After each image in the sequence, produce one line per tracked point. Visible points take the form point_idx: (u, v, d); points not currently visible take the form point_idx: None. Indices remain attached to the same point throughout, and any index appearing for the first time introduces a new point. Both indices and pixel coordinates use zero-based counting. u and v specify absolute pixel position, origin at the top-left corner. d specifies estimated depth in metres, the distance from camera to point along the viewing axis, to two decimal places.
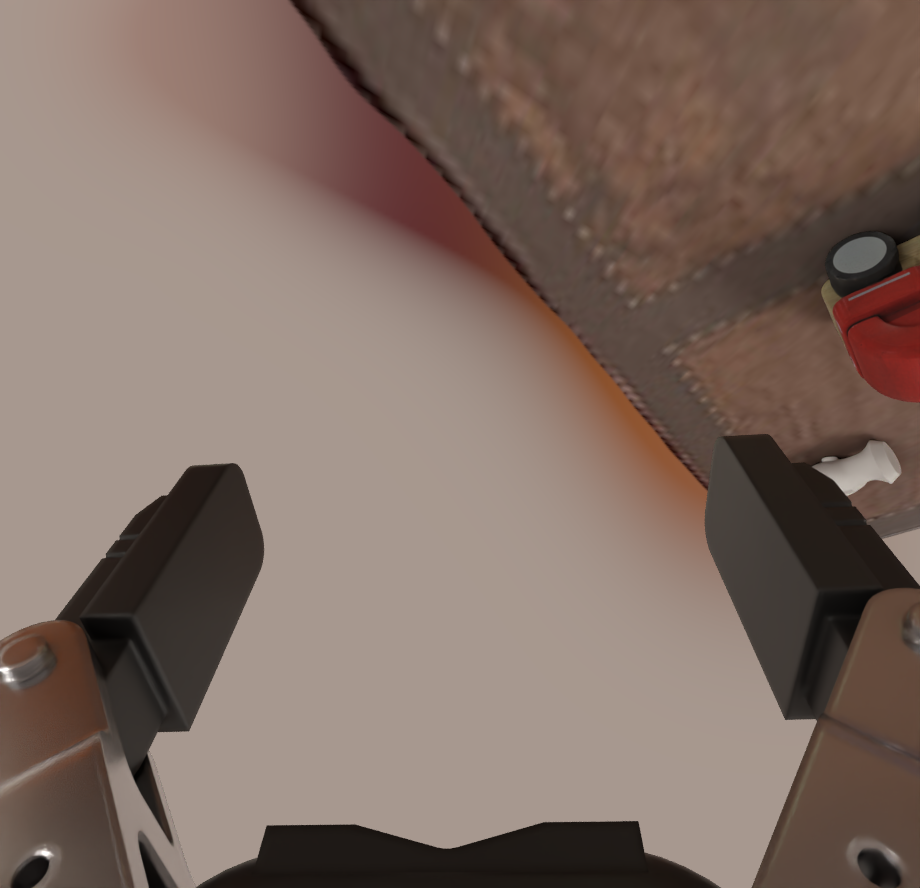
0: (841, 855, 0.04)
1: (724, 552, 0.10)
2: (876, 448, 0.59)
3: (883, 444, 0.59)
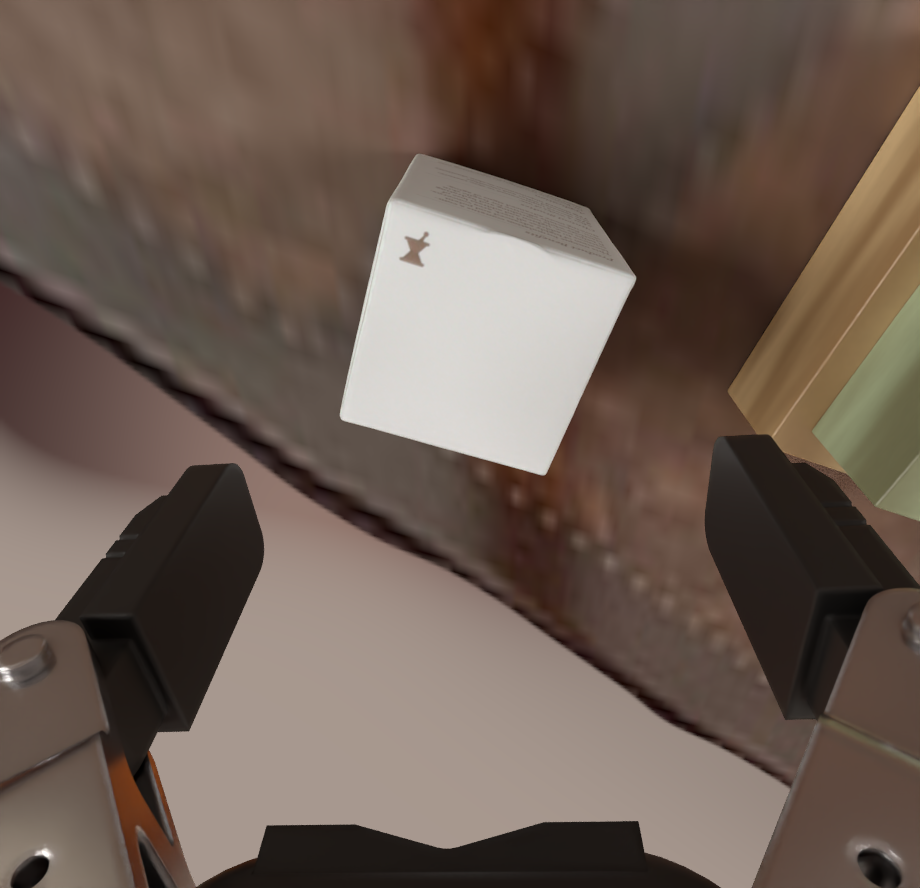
0: (841, 855, 0.04)
1: (724, 552, 0.10)
2: None
3: None
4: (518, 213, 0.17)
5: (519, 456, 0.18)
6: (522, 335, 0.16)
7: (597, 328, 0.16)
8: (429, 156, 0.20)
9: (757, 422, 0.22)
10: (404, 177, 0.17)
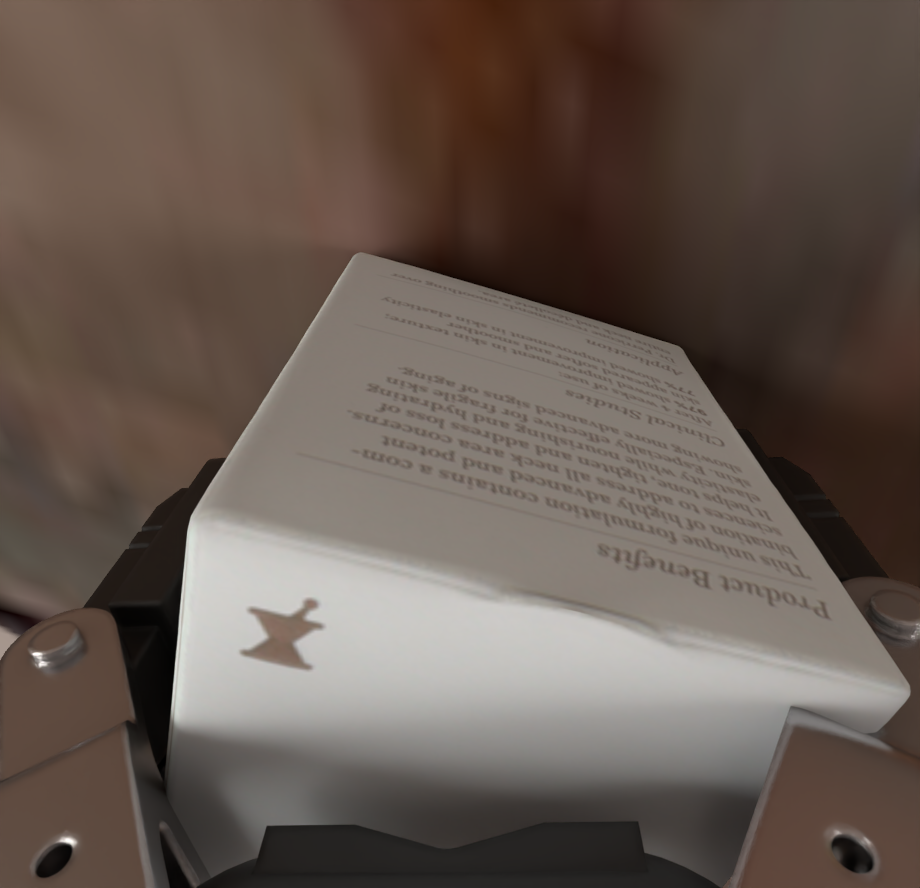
0: (816, 843, 0.04)
1: None
2: None
3: None
4: (566, 441, 0.07)
5: None
6: (585, 797, 0.06)
7: None
8: (379, 258, 0.10)
9: None
10: (293, 358, 0.07)
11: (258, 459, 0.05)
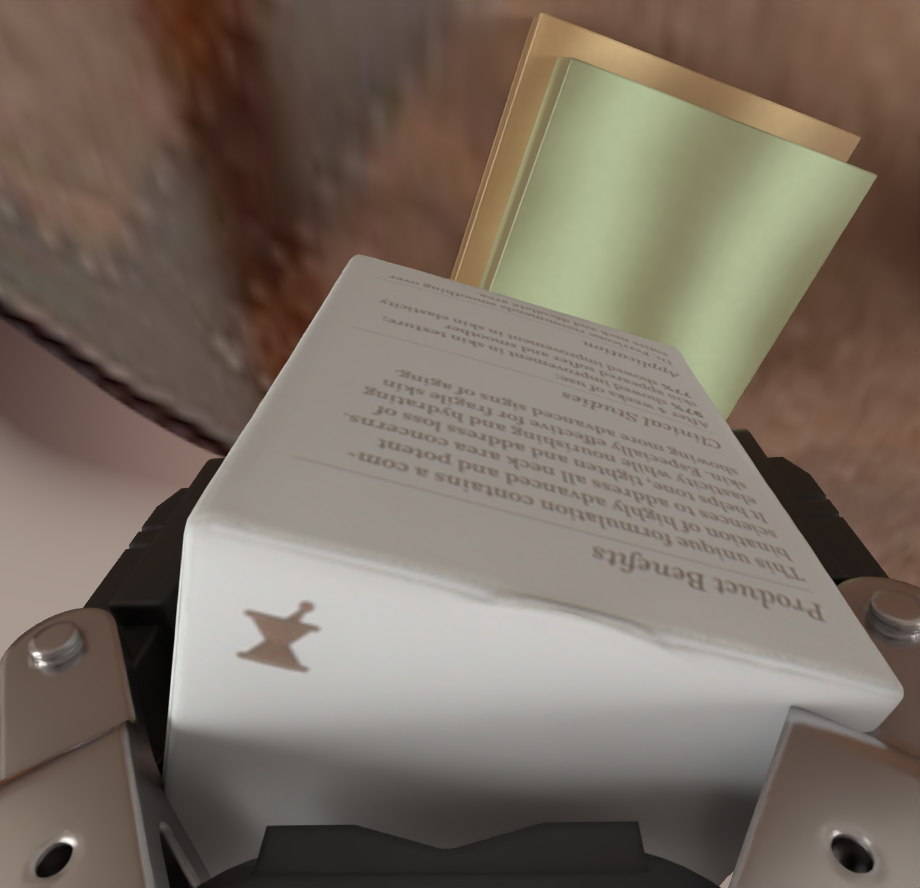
0: (815, 843, 0.04)
1: None
2: None
3: None
4: (562, 444, 0.07)
5: None
6: (582, 798, 0.06)
7: None
8: (377, 260, 0.10)
9: None
10: (290, 361, 0.07)
11: (255, 462, 0.05)
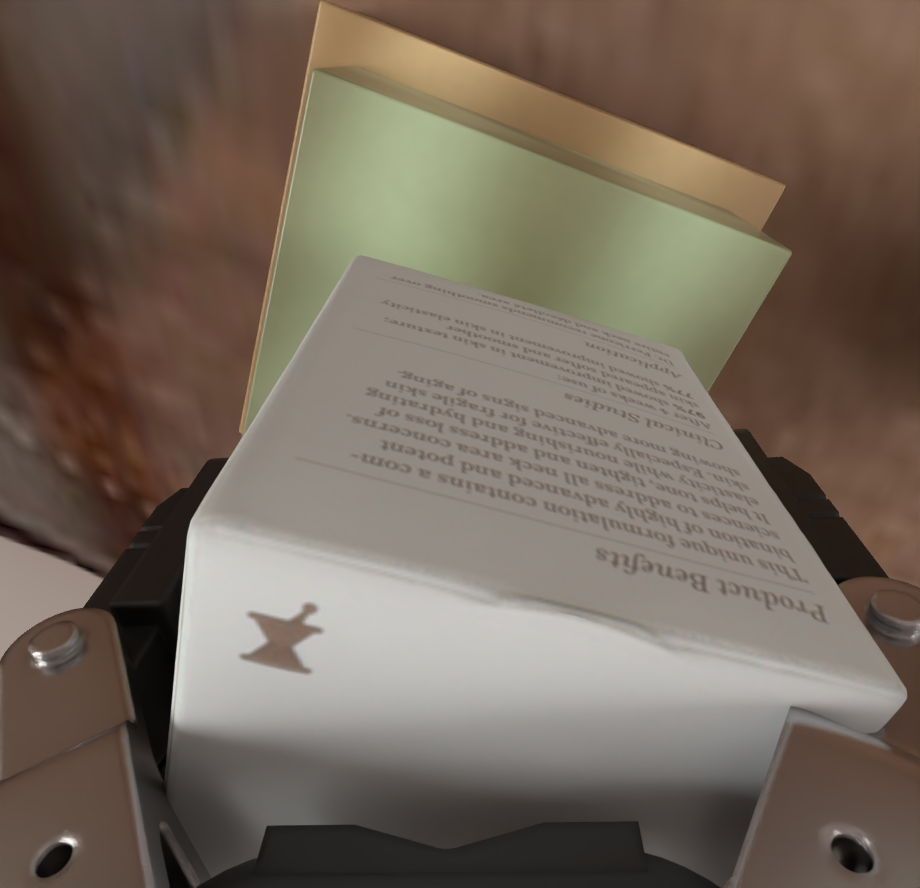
0: (816, 843, 0.04)
1: None
2: None
3: None
4: (565, 445, 0.07)
5: None
6: (585, 801, 0.06)
7: None
8: (379, 261, 0.10)
9: None
10: (293, 362, 0.07)
11: (258, 464, 0.05)
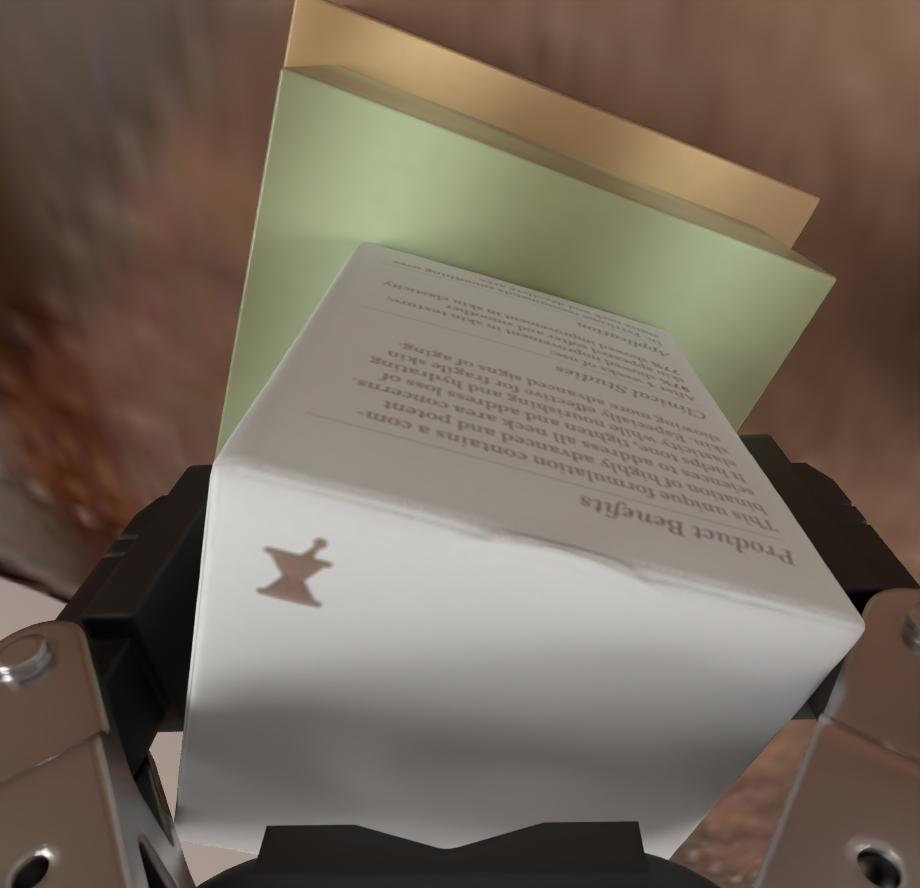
0: (841, 855, 0.04)
1: None
2: None
3: None
4: (555, 410, 0.08)
5: None
6: (571, 732, 0.07)
7: (754, 721, 0.06)
8: (381, 247, 0.11)
9: None
10: (301, 333, 0.07)
11: (272, 416, 0.06)
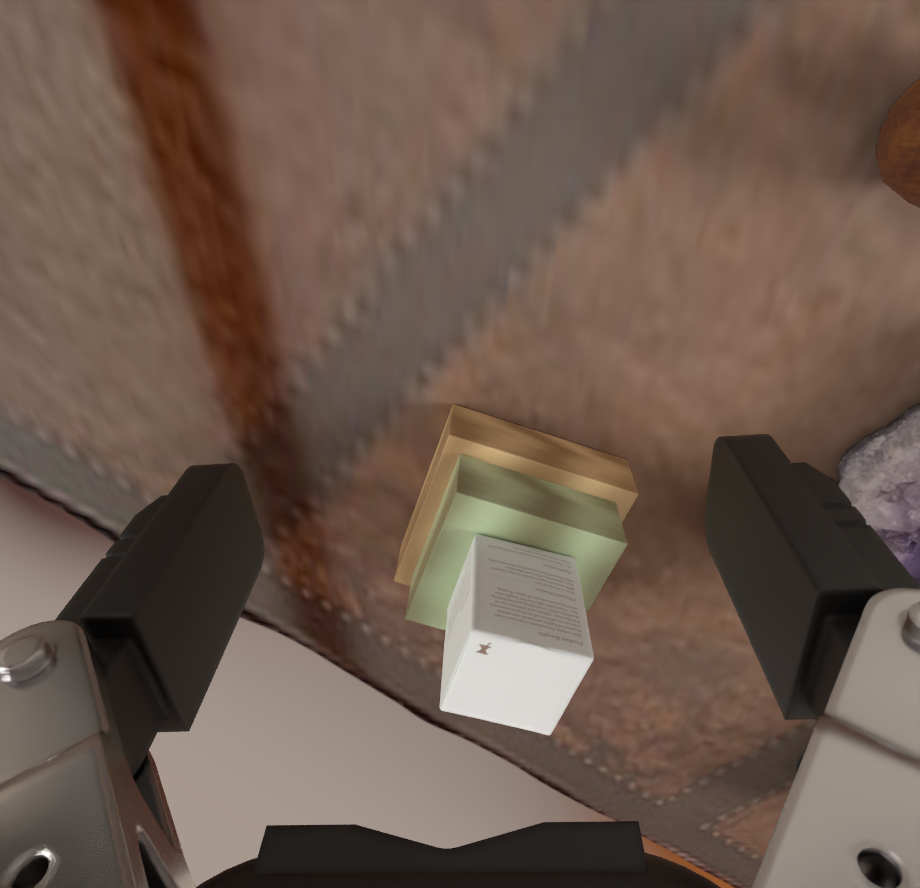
0: (841, 855, 0.04)
1: (724, 552, 0.10)
2: None
3: None
4: (534, 605, 0.32)
5: (535, 727, 0.33)
6: (537, 680, 0.31)
7: (575, 678, 0.31)
8: (483, 536, 0.35)
9: (397, 567, 0.44)
10: (474, 588, 0.32)
11: (478, 618, 0.30)
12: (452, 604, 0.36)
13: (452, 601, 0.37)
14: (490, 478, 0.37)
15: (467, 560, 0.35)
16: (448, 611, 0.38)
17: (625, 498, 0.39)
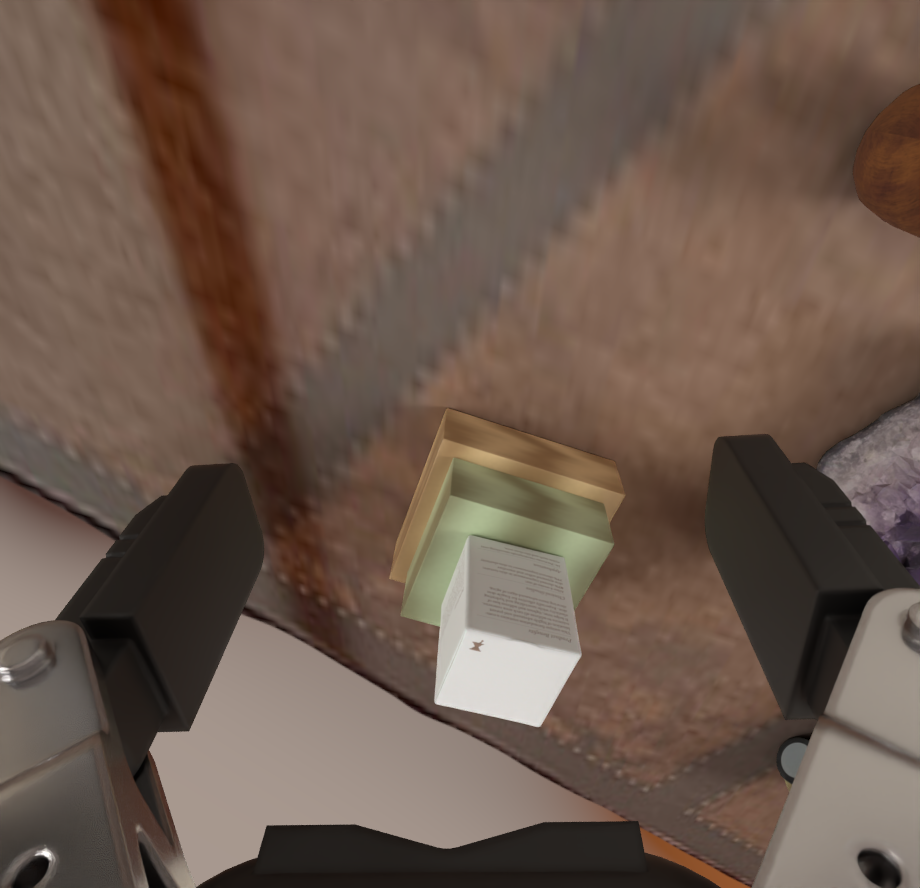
0: (841, 855, 0.04)
1: (724, 552, 0.10)
2: None
3: None
4: (525, 604, 0.33)
5: (526, 720, 0.34)
6: (527, 675, 0.32)
7: (563, 673, 0.32)
8: (476, 537, 0.37)
9: (392, 565, 0.45)
10: (468, 587, 0.33)
11: (471, 616, 0.32)
12: (446, 602, 0.38)
13: (446, 599, 0.38)
14: (483, 481, 0.38)
15: (460, 560, 0.37)
16: (442, 608, 0.39)
17: (612, 499, 0.40)
